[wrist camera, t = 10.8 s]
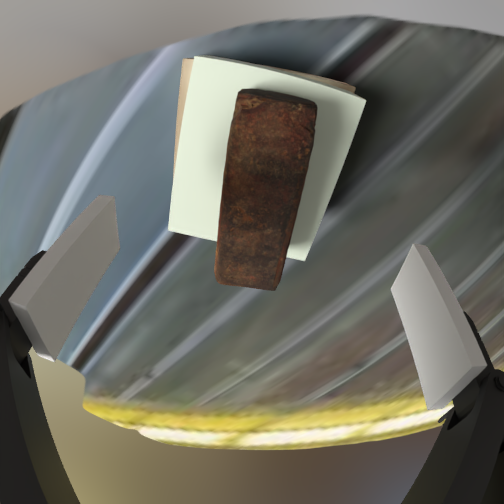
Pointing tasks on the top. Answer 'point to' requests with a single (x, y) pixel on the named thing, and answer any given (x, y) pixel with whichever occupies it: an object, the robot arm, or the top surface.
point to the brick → (262, 186)
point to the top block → (216, 138)
